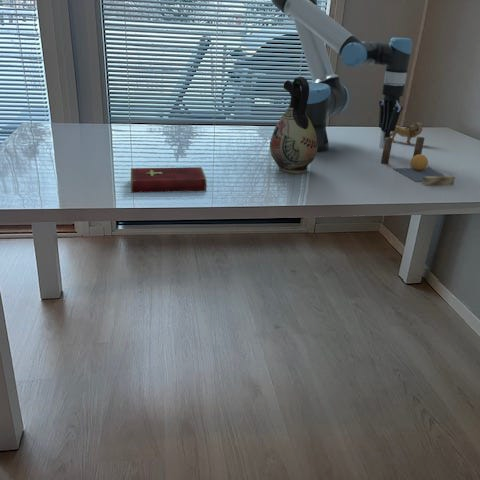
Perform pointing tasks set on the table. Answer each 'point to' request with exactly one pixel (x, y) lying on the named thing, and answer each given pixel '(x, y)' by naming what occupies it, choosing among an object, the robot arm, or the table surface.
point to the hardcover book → (168, 179)
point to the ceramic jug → (294, 132)
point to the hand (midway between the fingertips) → (383, 148)
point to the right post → (418, 146)
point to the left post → (386, 150)
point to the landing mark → (417, 173)
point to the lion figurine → (407, 131)
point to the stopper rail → (438, 180)
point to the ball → (419, 162)
